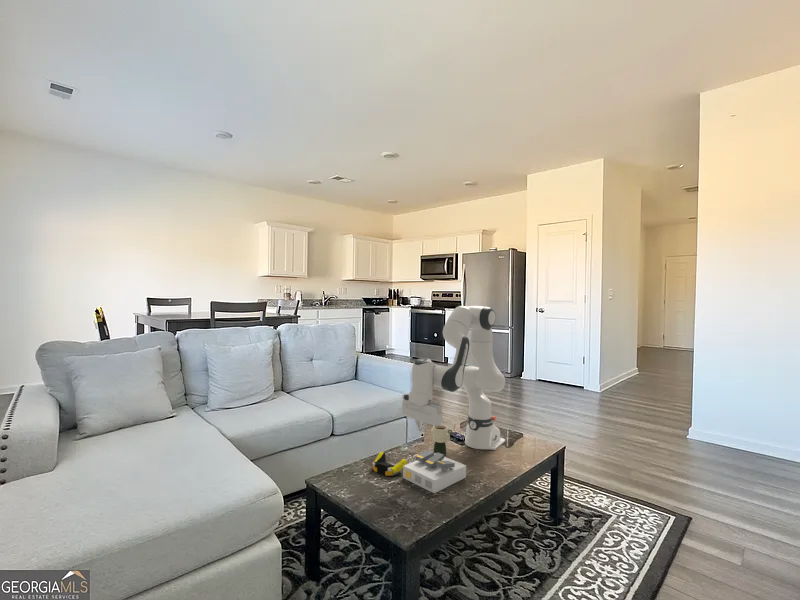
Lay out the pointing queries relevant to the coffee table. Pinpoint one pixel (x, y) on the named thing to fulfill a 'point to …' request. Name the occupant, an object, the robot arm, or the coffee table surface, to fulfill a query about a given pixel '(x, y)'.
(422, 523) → the coffee table surface
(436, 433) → the character mug
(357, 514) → the coffee table surface
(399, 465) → the gaming controller
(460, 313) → the robot arm
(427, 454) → the block
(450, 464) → the block
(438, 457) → the block
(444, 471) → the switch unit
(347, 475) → the coffee table surface
